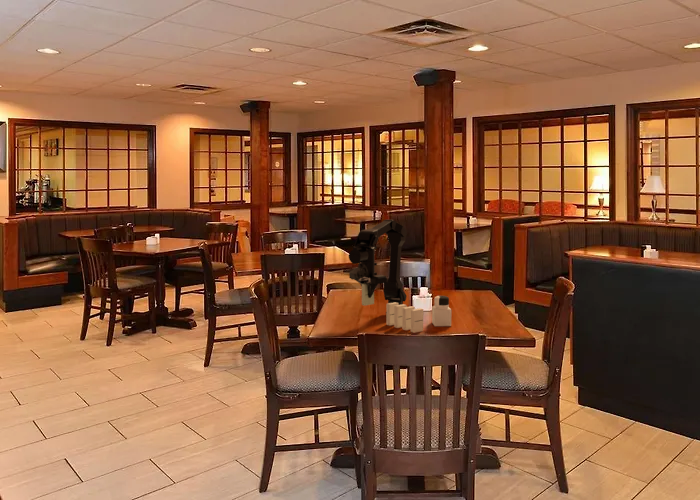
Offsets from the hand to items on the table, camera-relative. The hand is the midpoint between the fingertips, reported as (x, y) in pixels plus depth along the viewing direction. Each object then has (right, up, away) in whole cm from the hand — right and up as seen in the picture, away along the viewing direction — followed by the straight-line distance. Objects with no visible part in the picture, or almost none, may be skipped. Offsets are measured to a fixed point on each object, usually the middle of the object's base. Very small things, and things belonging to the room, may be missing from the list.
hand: (368, 297), depth 261 cm
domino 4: (+19, -13, -10) cm, 25 cm away
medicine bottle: (+31, -12, +1) cm, 33 cm away
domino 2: (+13, -12, -2) cm, 18 cm away
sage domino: (0, -3, 0) cm, 3 cm away
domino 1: (+10, -12, +2) cm, 16 cm away
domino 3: (+16, -13, -6) cm, 22 cm away
